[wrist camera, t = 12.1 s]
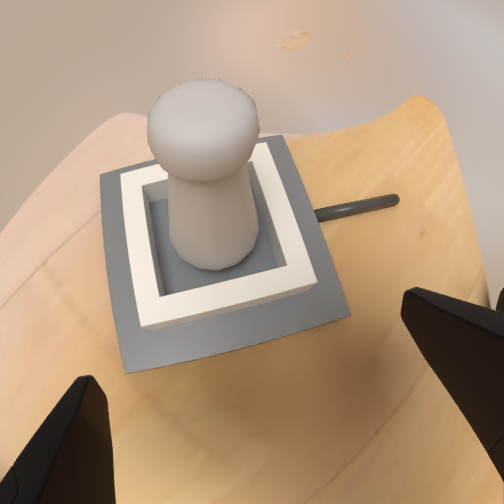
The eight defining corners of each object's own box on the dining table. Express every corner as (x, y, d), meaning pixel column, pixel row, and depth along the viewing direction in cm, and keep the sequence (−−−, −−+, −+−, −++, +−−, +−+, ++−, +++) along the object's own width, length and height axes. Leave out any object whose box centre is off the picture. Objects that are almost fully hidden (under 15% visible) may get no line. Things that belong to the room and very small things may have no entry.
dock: (360, 132, 28) (372, 109, 25) (430, 284, 23) (454, 272, 20) (103, 180, 24) (89, 157, 21) (129, 373, 19) (112, 374, 16)
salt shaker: (216, 190, 24) (209, 44, 11) (272, 238, 22) (316, 105, 10) (158, 241, 22) (94, 112, 10) (214, 297, 21) (192, 202, 9)
